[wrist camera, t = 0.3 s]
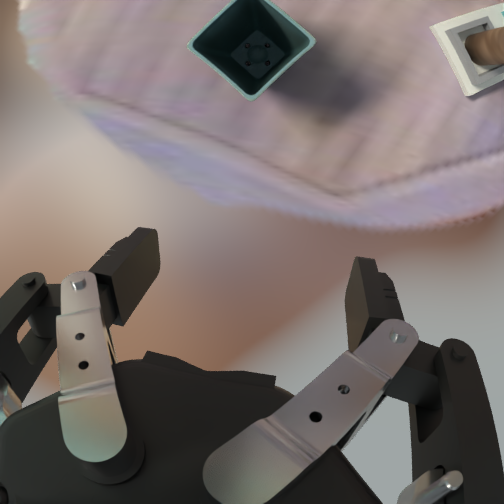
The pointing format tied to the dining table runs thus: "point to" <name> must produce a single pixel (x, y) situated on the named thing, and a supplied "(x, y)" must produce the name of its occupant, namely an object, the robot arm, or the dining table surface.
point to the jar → (486, 47)
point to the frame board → (453, 46)
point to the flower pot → (251, 44)
